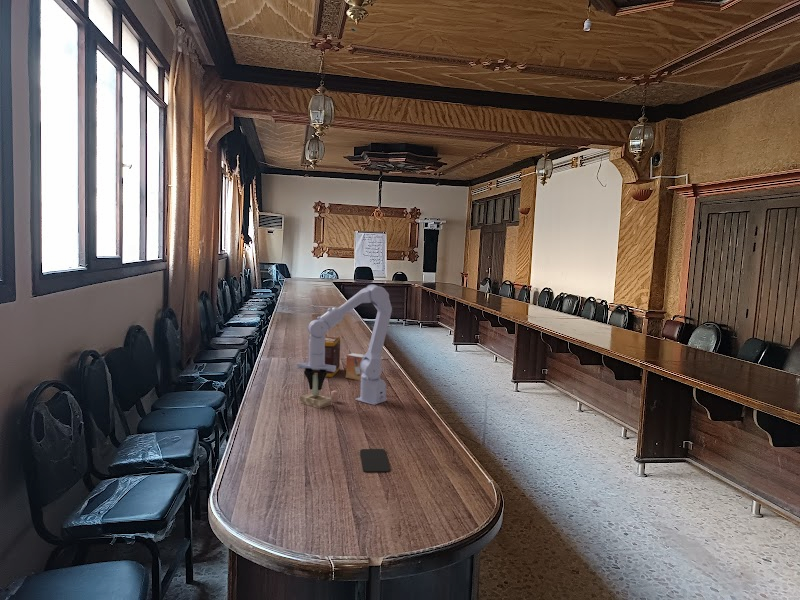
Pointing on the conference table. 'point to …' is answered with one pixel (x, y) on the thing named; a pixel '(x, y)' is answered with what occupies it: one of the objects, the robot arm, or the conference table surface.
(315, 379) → the long pin
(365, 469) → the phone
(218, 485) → the conference table surface
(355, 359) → the small box
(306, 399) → the hole plate
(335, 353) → the supplement box
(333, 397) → the short pin
